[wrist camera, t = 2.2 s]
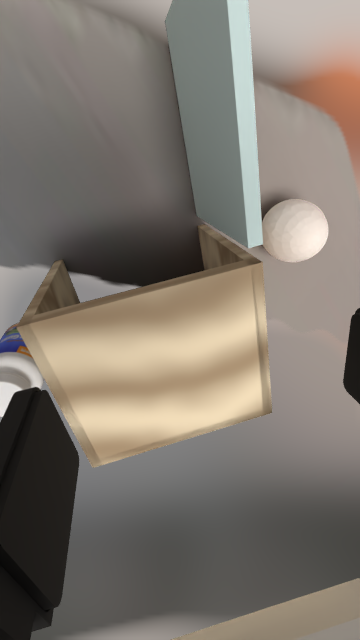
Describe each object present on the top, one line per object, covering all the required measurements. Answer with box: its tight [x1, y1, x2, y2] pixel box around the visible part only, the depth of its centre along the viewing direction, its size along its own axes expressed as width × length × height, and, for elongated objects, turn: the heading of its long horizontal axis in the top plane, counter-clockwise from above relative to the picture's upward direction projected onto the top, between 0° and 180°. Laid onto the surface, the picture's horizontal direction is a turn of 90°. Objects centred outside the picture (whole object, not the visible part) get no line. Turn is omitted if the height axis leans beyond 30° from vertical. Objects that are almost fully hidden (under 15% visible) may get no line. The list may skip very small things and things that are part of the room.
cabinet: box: [16, 224, 272, 468], centre depth 29 cm, size 14×16×14 cm
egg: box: [262, 199, 328, 262], centre depth 30 cm, size 6×6×8 cm
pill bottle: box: [0, 323, 45, 417], centre depth 30 cm, size 5×5×10 cm
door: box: [165, 0, 263, 248], centre depth 22 cm, size 2×15×14 cm, turn 11°
